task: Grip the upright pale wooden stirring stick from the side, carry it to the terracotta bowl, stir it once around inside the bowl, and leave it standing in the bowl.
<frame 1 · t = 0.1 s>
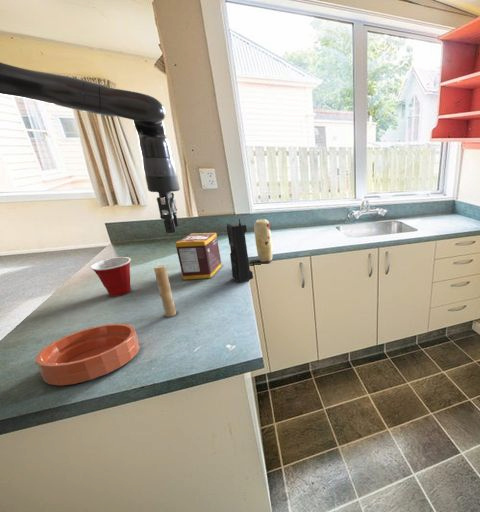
hand: (172, 229, 89), 26 cm above the worktop, tool pointing down, fingers open, 8 cm apart
bowl: (95, 362, 70), on the worktop
portable radio: (242, 278, 121), on the worktop
supplement box: (203, 272, 127), on the worktop
stirring stick: (171, 314, 92), on the worktop
plastic cup: (119, 293, 106), on the worktop
food model: (266, 260, 143), on the worktop
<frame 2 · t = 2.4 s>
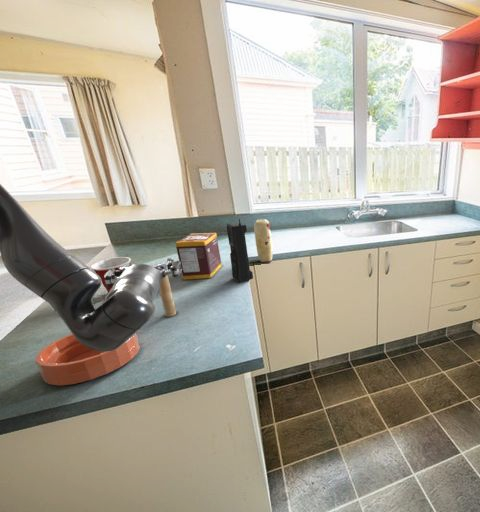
hand: (150, 264, 78), 20 cm above the worktop, tool horizontal, fingers open, 8 cm apart
nothing on the worktop moved.
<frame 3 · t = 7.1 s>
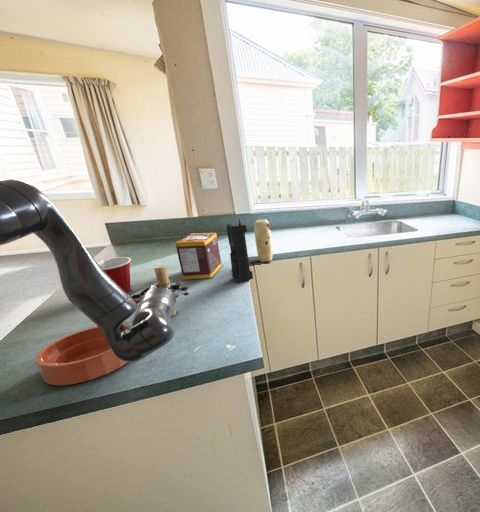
hand: (165, 283, 92), 10 cm above the worktop, tool horizontal, fingers closed on stirring stick, 2 cm apart
stirring stick: (171, 314, 92), on the worktop, touching gripper
everything else where it was.
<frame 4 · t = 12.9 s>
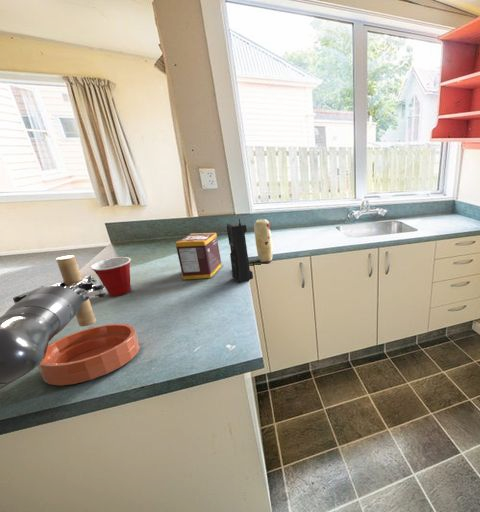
hand: (79, 280, 67), 20 cm above the worktop, tool horizontal, fingers closed on stirring stick, 3 cm apart
stirring stick: (87, 323, 68), point 10 cm above the worktop, touching gripper
everything else where it was.
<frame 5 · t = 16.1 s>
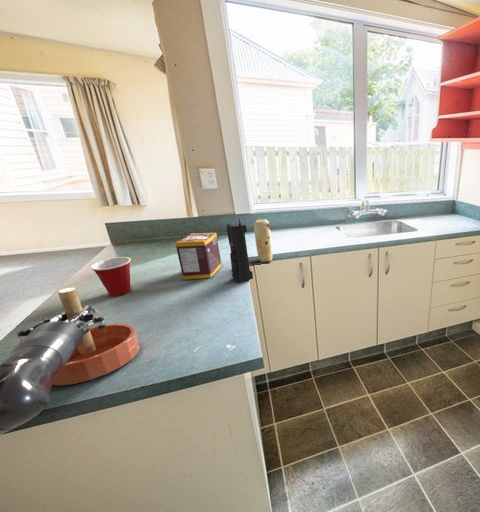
hand: (80, 310, 70), 12 cm above the worktop, tool horizontal, fingers closed on stirring stick, 3 cm apart
stirring stick: (88, 351, 71), point 2 cm above the worktop, touching gripper
everything else where it was.
when the fingers open (10 cm above the worktop, at t = 18.7 s): stirring stick stays where it is, resting on bowl.
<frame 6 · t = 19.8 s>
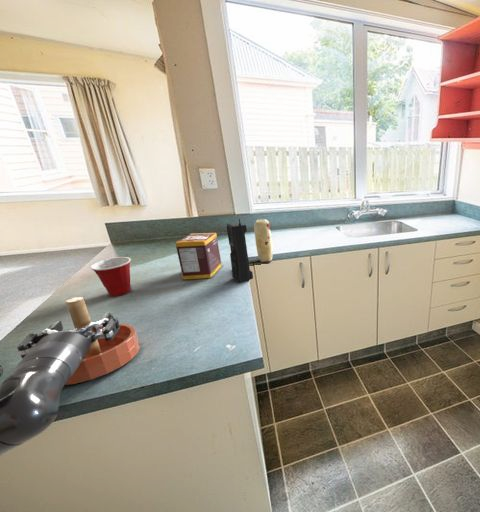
hand: (85, 320, 69), 10 cm above the worktop, tool horizontal, fingers open, 8 cm apart
stirring stick: (95, 360, 70), point 1 cm above the worktop, touching bowl
everything else where it was.
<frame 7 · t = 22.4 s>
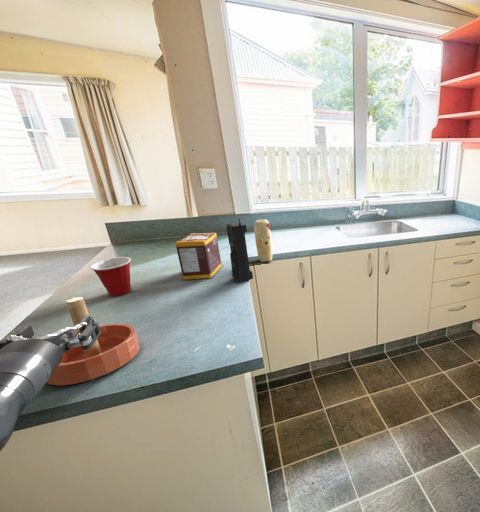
hand: (60, 324, 59), 15 cm above the worktop, tool horizontal, fingers open, 8 cm apart
nothing on the worktop moved.
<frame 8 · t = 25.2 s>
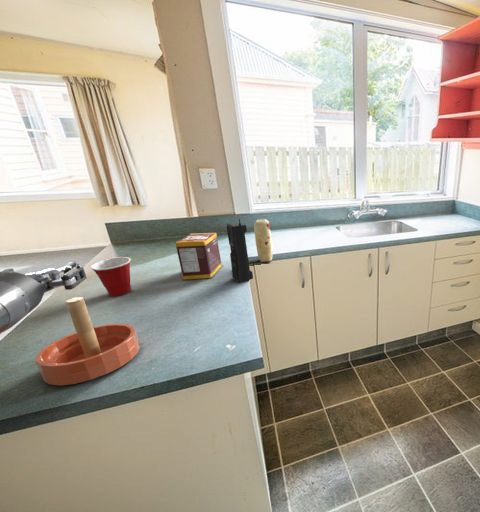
hand: (44, 269, 57), 26 cm above the worktop, tool horizontal, fingers open, 8 cm apart
nothing on the worktop moved.
at the end: stirring stick inside the target area in the bowl (0.1 cm from its centre), point 0.6 cm above the bowl's base; the gripper is holding nothing; stirring stick moved 23.1 cm from its start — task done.
